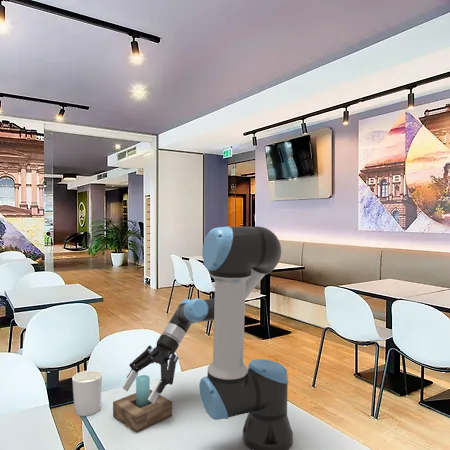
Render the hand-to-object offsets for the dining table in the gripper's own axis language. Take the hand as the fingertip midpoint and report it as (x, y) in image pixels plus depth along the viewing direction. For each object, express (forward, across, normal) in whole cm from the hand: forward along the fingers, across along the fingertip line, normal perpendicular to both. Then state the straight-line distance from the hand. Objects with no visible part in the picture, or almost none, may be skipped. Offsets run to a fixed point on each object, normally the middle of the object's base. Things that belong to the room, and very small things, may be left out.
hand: (137, 395), depth 128 cm
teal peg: (+3, 0, -7) cm, 7 cm away
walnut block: (+4, 0, -7) cm, 8 cm away
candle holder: (+11, +18, -1) cm, 21 cm away
